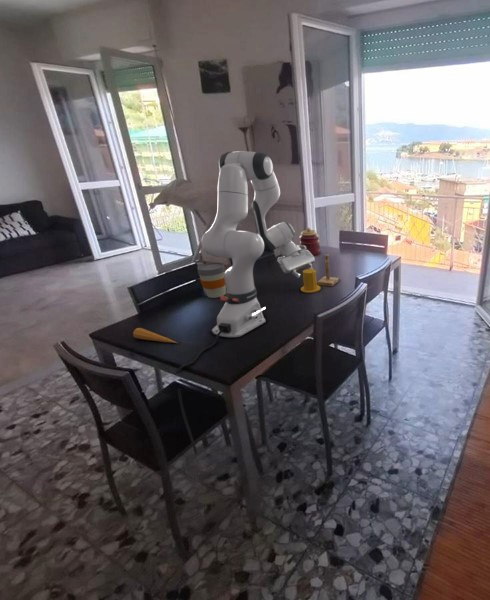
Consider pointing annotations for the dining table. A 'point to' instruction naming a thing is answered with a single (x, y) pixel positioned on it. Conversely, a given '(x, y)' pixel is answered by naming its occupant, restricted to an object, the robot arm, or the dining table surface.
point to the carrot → (150, 336)
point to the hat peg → (327, 275)
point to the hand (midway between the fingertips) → (306, 274)
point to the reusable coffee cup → (213, 279)
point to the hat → (310, 281)
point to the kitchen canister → (310, 241)
